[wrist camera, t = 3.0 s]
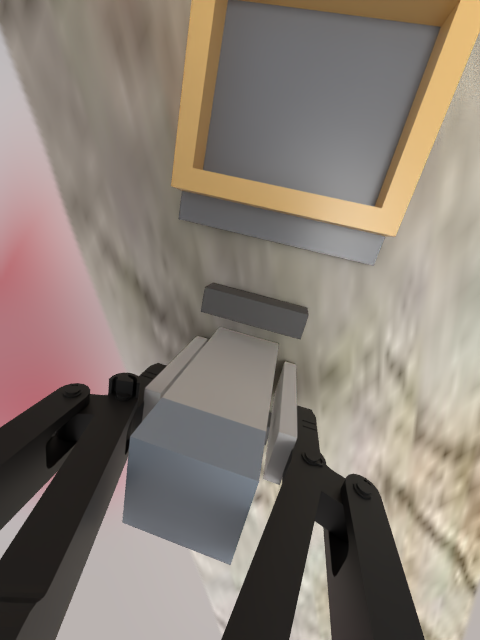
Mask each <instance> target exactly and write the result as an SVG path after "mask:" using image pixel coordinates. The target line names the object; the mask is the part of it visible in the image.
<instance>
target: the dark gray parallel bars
mask: <svg viewBox="0 0 480 640" xmlns="http://www.w3.org/2000/svg"><path fill="white" fill-rule="evenodd" d="M201 312H204V313H208V314H211V315H215V316H218V317H222V318H226V319H229V320H233V321H236V322H240V323H243V324H247V325H250V326H254V327H258V328H261V329H265V330H268V331H272V332H275V333H279V334H283V335H286V336H290V337H293V338H297V339H301V336H302V333H303V330H304V327H305V324H306V321H307V318H308V309H307V308H306V307H302V306H298V305H294V304H291V303H287V302H283V301H279V300H276V299H272V298H268V297H264V296H260V295H257V294H253V293H249V292H245V291H242V290H238V289H234V288H230V287H227V286H223V285H219V284H215V283H212V284H210V285H208V286H206V287H205V291H204V296H203V302H202V308H201ZM271 414H272V413H270V412H269V415H268V422H267V429H266V436H265V443H264V445H266V442H267V439H268V436H269V429H270V422H271Z"/></svg>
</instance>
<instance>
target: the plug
mask: <svg viewBox="0 0 480 640" xmlns="http://www.w3.org/2000/svg"><path fill="white" fill-rule="evenodd" d="M278 347H279V343H275V342H272V341H268V340H265V339H261V338H258V337H254V336H251V335H247V334H244V333H240V332H237V331H233V330H230V329H226V328H223V327H219V328H218V330H217V331H216V332H215V333H214V335H213V336H212V337H211V338H210V339H209V341H208V342H207V343H206V344H205V346H204V347H203V348H202V349H201V350H200V352H199V353H198V354H197V355H196V357H195V358H194V359H193V360H192V361H191V363H190V364H189V365H188V366H187V368H186V369H185V370H184V371H183V372H182V374H181V375H180V376H179V377H178V379H177V380H176V381H175V382H174V383H173V385H172V386H171V387H170V388H169V390H168V391H167V392H166V393H165V394H164V396H163V397H162V398H161V399H160V401H159V402H158V403H157V404H156V405H155V407H154V408H153V409H152V410H151V412H150V413H149V414H148V415H147V416H146V418H145V419H144V420H143V421H142V423H141V424H140V425H139V426H138V427H137V429H136V430H135V431H134V432H133V434H132V435H131V436H130V444H129V455H128V466H127V479H126V490H125V500H124V511H123V523H125V524H128V525H130V526H133V527H135V528H138V529H140V530H143V531H145V532H148V533H150V534H153V535H156V536H158V537H161V538H163V539H166V540H168V541H171V542H173V543H176V544H178V545H181V546H184V547H186V548H189V549H191V550H194V551H196V552H199V553H201V554H204V555H206V556H209V557H211V558H214V559H216V560H219V561H222V562H224V563H227V564H229V565H231V562H232V559H233V556H234V553H235V550H236V547H237V544H238V541H239V538H240V535H241V532H242V530H243V527H244V524H245V521H246V518H247V515H248V512H249V509H250V506H251V503H252V500H253V497H254V494H255V492H256V489H257V486H258V483H259V478H260V471H261V464H262V457H263V450H264V443H265V436H266V429H267V422H268V415H269V409H270V402H271V395H272V388H273V381H274V374H275V367H276V360H277V353H278Z"/></svg>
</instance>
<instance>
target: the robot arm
mask: <svg viewBox="0 0 480 640" xmlns="http://www.w3.org/2000/svg"><path fill="white" fill-rule="evenodd" d="M206 343H207V338H203V337H200V336H196V337H195V338H194V339H193V340H192V341H191V342H190V343H189V344H188V345H187V346H186V347H185V348H184V349H183V350H182V351H181V352H180V353H179V354H178V355H177V356H176V357H175V358H174V359H173V360H172V361H171V362H170V363H169V364H168V365H167V366H166V365H163V364H160V363H157V364H154V365H152V366H150V367H149V368H147V369H146V370H145V372H143V373H142V374H141V375H140V376H137V375H135V374H132V373H119V374H116V375H114V376H112V377H111V378H110V379H109V393H108V395H95V394H90V389H89V387H88V386H86V385H84V384H79V383H76V384H69V385H65V386H63V387H61V388H59V389H57V390H56V391H54V392H53V393H51V394H50V395H48V396H47V397H46V398H44V399H42V400H41V401H39V402H38V403H36V404H35V405H33V406H32V407H30V408H29V409H27V410H26V411H24V412H23V413H21V414H20V415H18V416H17V417H15V418H14V419H13V420H11V421H9V422H8V423H6V424H5V425H3V426H2V427H1V428H0V530H1V529H2V528H3V527H4V526H5V525H6V524H7V523H8V522H9V520H11V519H12V517H13V516H14V515H15V514H16V513H17V512H18V511H19V510H20V509H21V508H22V507H23V506H24V505H25V504H26V503H27V502H28V501H29V500H30V499H31V498H32V497H33V496H34V495H35V494H36V493H37V492H38V491H39V490H40V489H41V488H42V487H43V485H44V484H46V483H47V482H48V481H49V480H50V478H51V477H52V476H53V475H54V474H55V473H56V472H57V471H58V470H59V471H58V472H57V474H56V475H55V477H54V478H53V480H52V481H51V483H50V484H49V486H48V487H47V489H46V490H45V492H44V493H43V495H42V497H41V498H40V500H39V501H38V503H37V504H36V506H35V507H34V509H33V511H32V512H31V513H30V515H29V517H28V518H27V520H26V521H25V523H24V524H23V526H22V527H21V529H20V530H19V532H18V533H17V535H16V536H15V538H14V539H13V541H12V542H11V544H10V546H9V547H8V549H7V550H6V552H5V553H4V555H3V556H2V558H1V560H0V640H55V639H56V637H57V634H58V631H59V629H60V626H61V624H62V621H63V619H64V616H65V614H66V611H67V609H68V606H69V604H70V601H71V599H72V596H73V593H74V591H75V589H76V586H77V583H78V581H79V579H80V576H81V573H82V571H83V568H84V566H85V564H86V561H87V559H88V556H89V553H90V551H91V548H92V546H93V543H94V541H95V538H96V536H97V533H98V531H99V528H100V526H101V523H102V521H103V518H104V516H105V513H106V510H107V508H108V506H109V503H110V501H111V498H112V496H113V493H114V491H115V488H116V485H117V483H118V480H119V478H120V475H121V473H122V470H123V468H124V465H125V463H126V460H127V458H128V455H129V444H130V436H131V435H132V434H133V432H134V431H135V430H136V429H137V427H138V426H139V425H140V424H141V423H142V421H143V420H144V419H145V418H146V416H147V415H148V414H149V413H150V412H151V410H152V409H153V408H154V407H155V405H156V404H157V403H158V402H159V401H160V399H161V398H162V397H163V396H164V394H165V393H166V392H167V391H168V390H169V388H170V387H171V386H172V385H173V383H174V382H175V381H176V380H177V379H178V377H179V376H180V375H181V374H182V372H183V371H184V370H185V369H186V368H187V366H188V365H189V364H190V363H191V361H192V360H193V359H194V358H195V357H196V355H197V354H198V353H199V352H200V350H201V349H202V348H203V347H204V346H205V344H206ZM316 425H317V424H316V417H315V415H314V414H313V412H312V410H310V409H307V408H304V407H301V406H297V385H296V364H292V363H289V362H284V365H283V368H282V372H281V375H280V378H279V381H278V384H277V387H276V390H275V394H274V398H273V406H272V414H271V422H270V429H269V437H268V445H267V452H266V460H265V468H264V476H263V479H264V480H267V481H270V482H273V483H276V484H279V485H280V482H281V480H282V486H281V489H280V491H279V494H278V496H277V499H276V501H275V504H274V506H273V509H272V512H271V514H270V517H269V519H268V522H267V524H266V527H265V529H264V532H263V535H262V537H261V540H260V542H259V545H258V547H257V550H256V552H255V555H254V558H253V560H252V563H251V565H250V568H249V570H248V573H247V575H246V578H245V581H244V583H243V586H242V588H241V591H240V593H239V596H238V598H237V601H236V604H235V606H234V609H233V611H232V614H231V616H230V619H229V621H228V624H227V627H226V629H225V632H224V634H223V637H222V639H221V640H289V638H290V633H291V628H292V624H293V619H294V614H295V610H296V605H297V600H298V596H299V591H300V586H301V582H302V577H303V572H304V568H305V563H306V558H307V554H308V549H309V544H310V540H311V535H312V530H313V526H314V521H316V522H317V523H318V524H320V525H321V526H322V527H323V528H324V542H325V555H326V569H327V582H328V595H329V609H330V622H331V635H332V640H425V639H424V636H423V632H422V629H421V626H420V623H419V619H418V616H417V613H416V609H415V606H414V603H413V600H412V596H411V593H410V590H409V587H408V583H407V580H406V577H405V574H404V570H403V567H402V564H401V561H400V557H399V554H398V551H397V548H396V544H395V541H394V538H393V535H392V531H391V528H390V525H389V522H388V518H387V515H386V512H385V509H384V505H383V502H382V499H381V496H380V494H379V492H378V490H377V488H376V487H375V486H374V485H373V484H372V483H371V482H370V481H369V480H367V479H366V478H364V477H362V476H360V475H357V474H350V475H348V476H347V477H346V478H344V477H342V476H341V475H339V474H337V473H336V472H334V471H333V470H331V469H330V468H329V467H328V466H327V465H326V461H325V459H324V457H323V455H322V454H321V453H320V449H319V440H318V432H317V426H316ZM282 477H283V478H282Z"/></svg>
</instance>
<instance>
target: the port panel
mask: <svg viewBox="0 0 480 640" xmlns="http://www.w3.org/2000/svg"><path fill="white" fill-rule="evenodd" d="M479 32H480V0H192V3H191V12H190V21H189V30H188V38H187V47H186V56H185V65H184V74H183V83H182V92H181V101H180V110H179V119H178V128H177V136H176V145H175V154H174V163H173V172H172V181H171V186H172V187H175V188H177V189H180V190H182V196H181V204H180V212H179V219H181V220H185V221H189V222H193V223H197V224H202V225H206V226H210V227H214V228H218V229H222V230H227V231H231V232H235V233H239V234H243V235H248V236H252V237H256V238H260V239H264V240H268V241H273V242H277V243H281V244H285V245H289V246H293V247H298V248H302V249H306V250H310V251H314V252H319V253H323V254H327V255H331V256H335V257H339V258H344V259H348V260H352V261H356V262H360V263H364V264H369V265H373V266H374V264H375V261H376V259H377V256H378V254H379V251H380V249H381V246H382V244H383V241H384V239H385V236H396V234H397V231H398V229H399V227H400V224H401V222H402V219H403V217H404V214H405V212H406V210H407V207H408V205H409V202H410V200H411V197H412V195H413V192H414V190H415V188H416V185H417V183H418V180H419V178H420V175H421V173H422V171H423V168H424V166H425V163H426V161H427V158H428V156H429V153H430V151H431V149H432V146H433V144H434V141H435V139H436V136H437V134H438V132H439V129H440V127H441V124H442V122H443V119H444V117H445V114H446V112H447V110H448V107H449V105H450V102H451V100H452V97H453V95H454V92H455V90H456V88H457V85H458V83H459V80H460V78H461V75H462V73H463V71H464V68H465V66H466V63H467V61H468V58H469V56H470V53H471V51H472V49H473V46H474V44H475V41H476V39H477V36H478V34H479Z"/></svg>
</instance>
